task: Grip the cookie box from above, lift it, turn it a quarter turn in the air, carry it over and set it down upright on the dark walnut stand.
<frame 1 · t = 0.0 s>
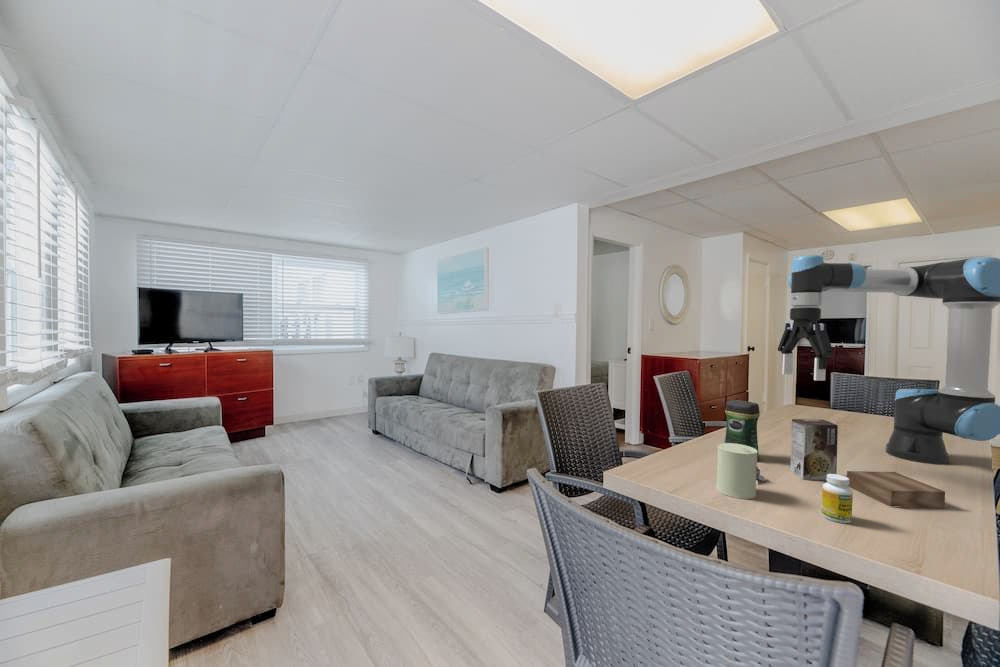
hand: (802, 377, 126), 28 cm above the table, tool pointing down, fingers open, 13 cm apart
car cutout: (761, 480, 118), on the table
supplement bottle: (836, 519, 94), on the table
coffee jar: (740, 456, 137), on the table
walnut stand: (892, 495, 107), on the table
can: (735, 492, 108), on the table
cookie box: (812, 477, 120), on the table
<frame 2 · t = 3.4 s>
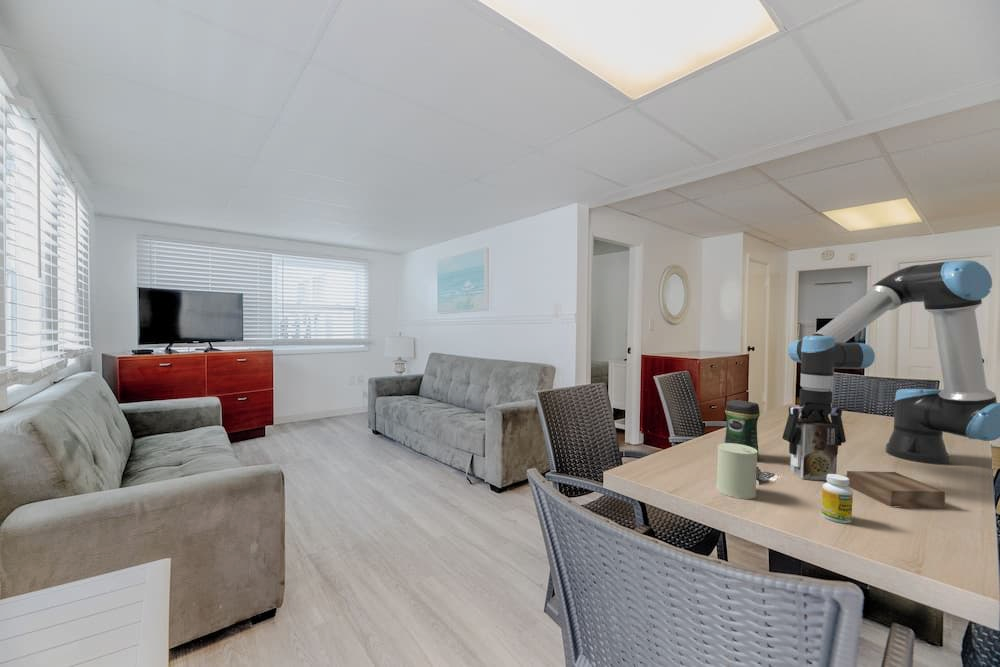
hand: (812, 465, 120), 3 cm above the table, tool pointing down, fingers closed on cookie box, 9 cm apart
cookie box: (812, 476, 120), on the table, touching gripper
everything else where it was.
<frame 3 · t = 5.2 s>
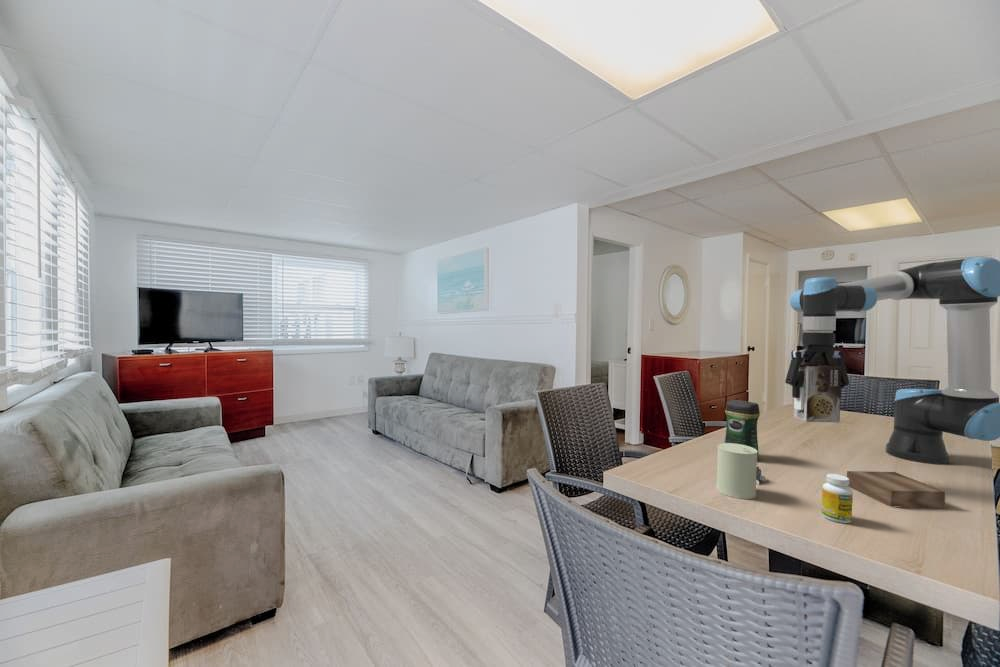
hand: (816, 409, 120), 20 cm above the table, tool pointing down, fingers closed on cookie box, 9 cm apart
cookie box: (815, 420, 120), point 16 cm above the table, touching gripper
everything else where it was.
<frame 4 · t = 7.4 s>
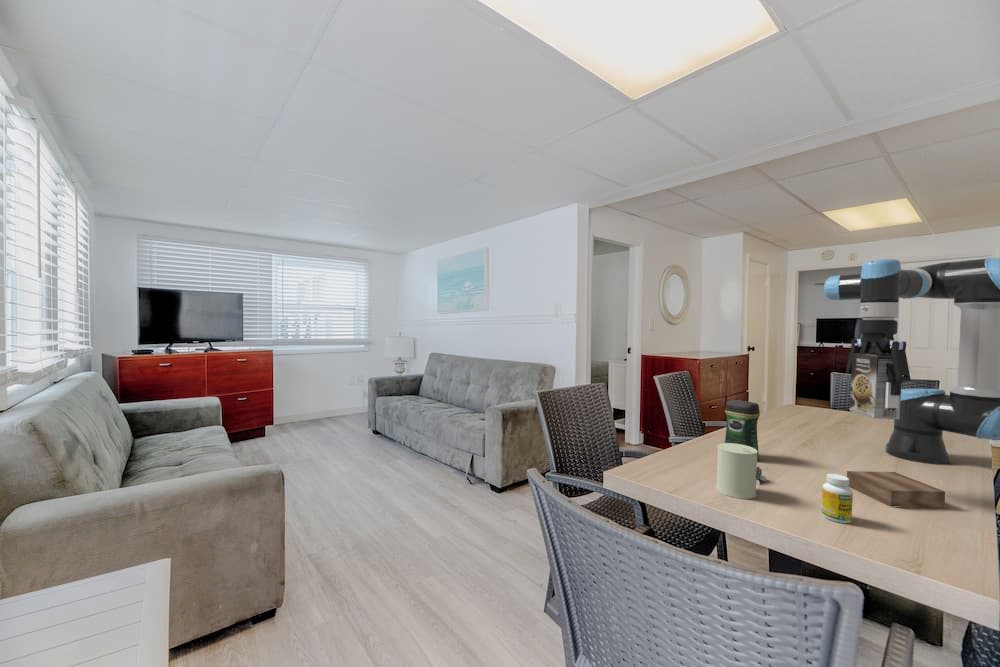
hand: (874, 403, 110), 23 cm above the table, tool pointing down, fingers closed on cookie box, 9 cm apart
cookie box: (873, 416, 110), point 20 cm above the table, touching gripper
everything else where it was.
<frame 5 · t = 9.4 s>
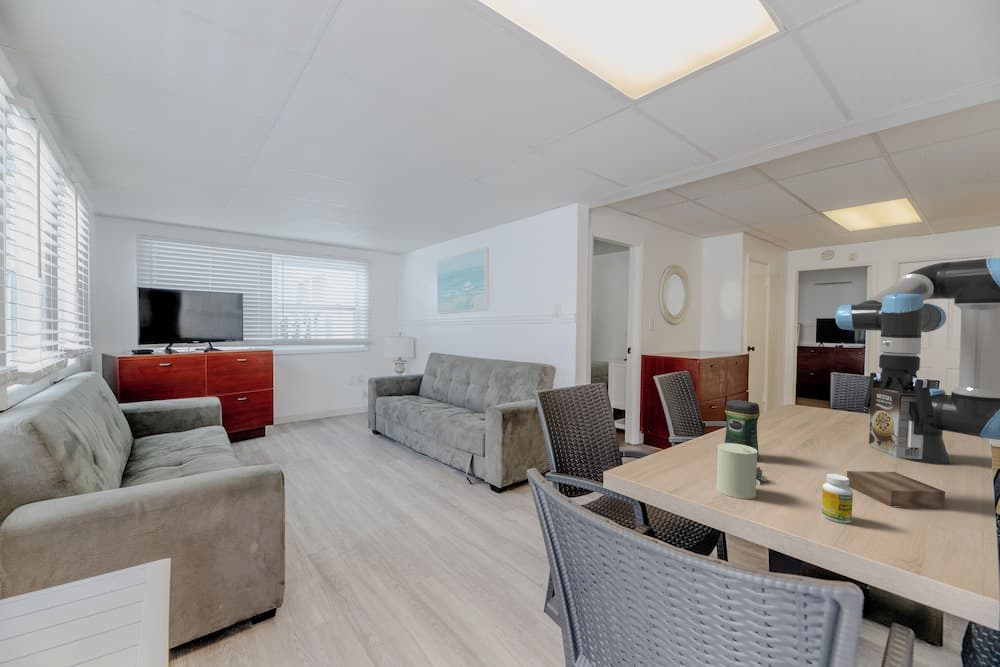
hand: (894, 441, 107), 14 cm above the table, tool pointing down, fingers closed on cookie box, 9 cm apart
cookie box: (894, 453, 107), point 11 cm above the table, touching gripper
everything else where it was.
when the fingers open (8 cm above the table, at t = 11.4 s): cookie box drops 1 cm, resting on walnut stand.
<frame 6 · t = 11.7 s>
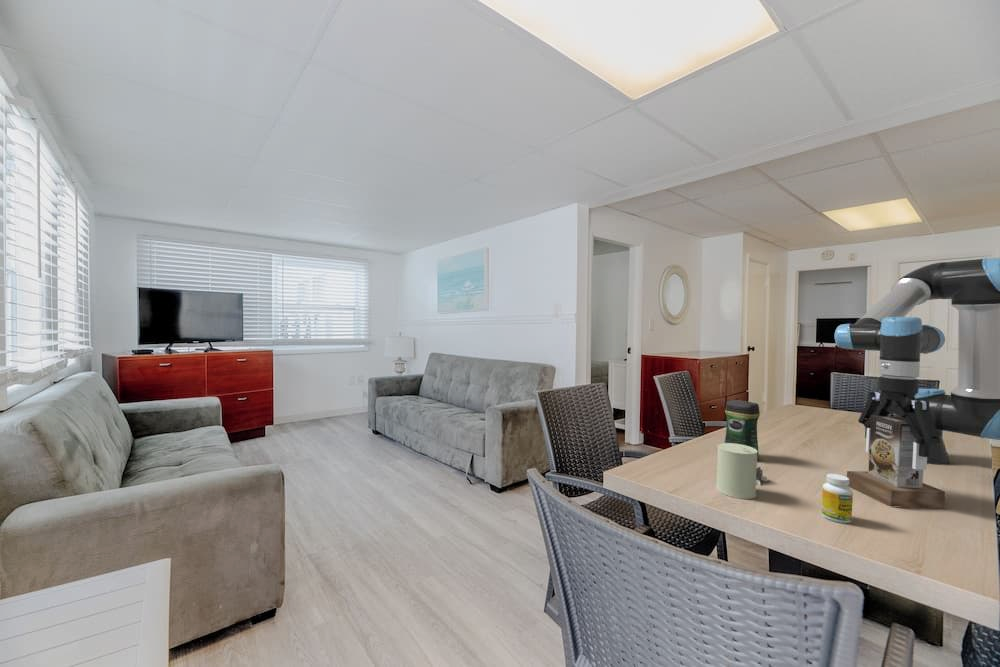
hand: (894, 460, 107), 9 cm above the table, tool pointing down, fingers open, 12 cm apart
cookie box: (894, 481, 107), point 4 cm above the table, touching walnut stand
everything else where it was.
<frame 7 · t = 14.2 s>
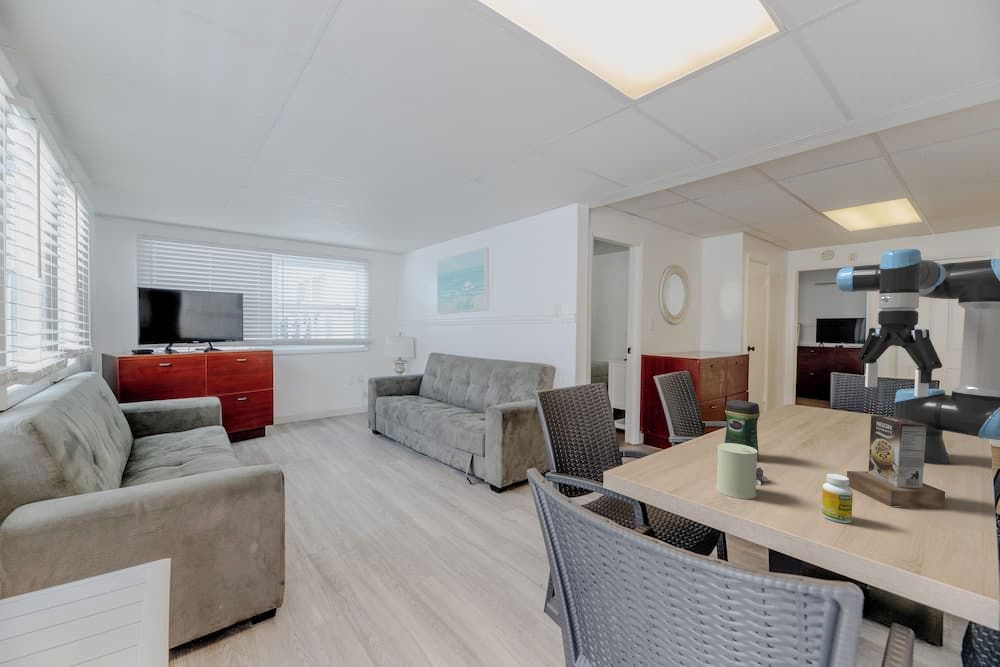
hand: (894, 391, 108), 27 cm above the table, tool pointing down, fingers open, 13 cm apart
nothing on the table moved.
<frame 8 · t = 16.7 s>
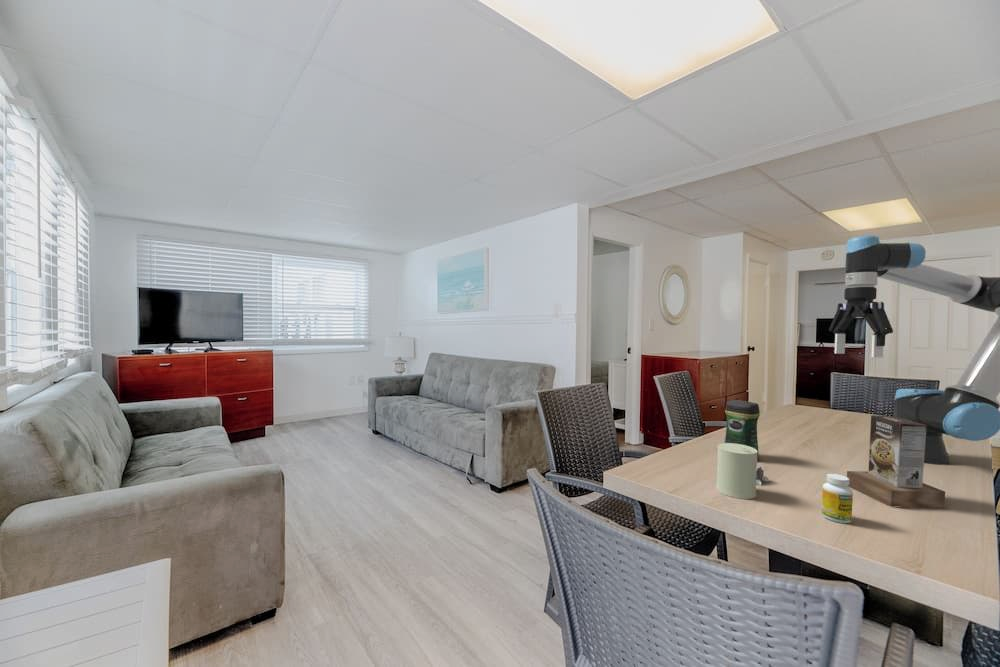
hand: (857, 355, 129), 35 cm above the table, tool pointing down, fingers open, 13 cm apart
nothing on the table moved.
at the end: cookie box inside the target area on the walnut stand (0.2 cm from its centre), point 3.8 cm above the walnut stand's base; cookie box tilted 0°; the gripper is holding nothing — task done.
